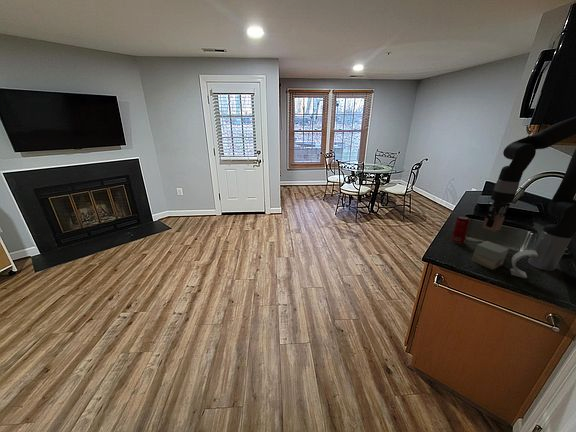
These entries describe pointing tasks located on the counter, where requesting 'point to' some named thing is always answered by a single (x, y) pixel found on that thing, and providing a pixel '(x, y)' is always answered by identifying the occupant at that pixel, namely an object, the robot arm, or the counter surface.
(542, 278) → the counter surface
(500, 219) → the terracotta block
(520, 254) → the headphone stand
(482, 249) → the tower top
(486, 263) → the tower bottom
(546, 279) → the counter surface
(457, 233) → the beverage can
